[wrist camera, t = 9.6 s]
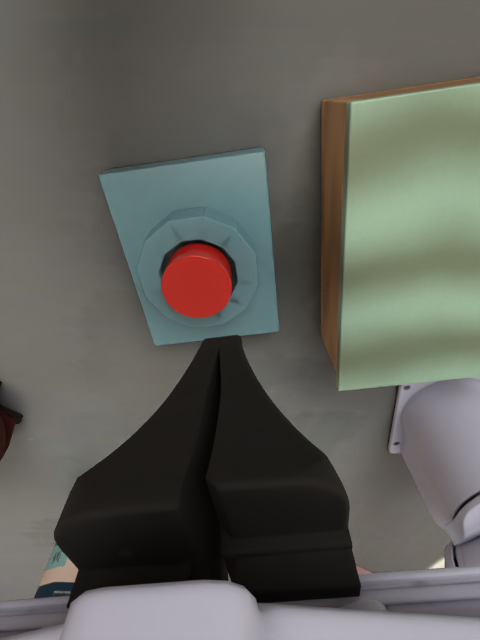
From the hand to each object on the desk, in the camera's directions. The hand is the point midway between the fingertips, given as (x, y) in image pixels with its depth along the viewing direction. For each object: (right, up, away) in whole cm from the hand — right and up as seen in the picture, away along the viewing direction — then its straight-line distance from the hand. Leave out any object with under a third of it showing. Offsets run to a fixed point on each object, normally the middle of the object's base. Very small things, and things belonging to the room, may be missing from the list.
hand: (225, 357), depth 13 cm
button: (-2, +4, +6) cm, 7 cm away
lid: (+12, +4, +4) cm, 13 cm away
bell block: (-2, +6, +8) cm, 10 cm away
